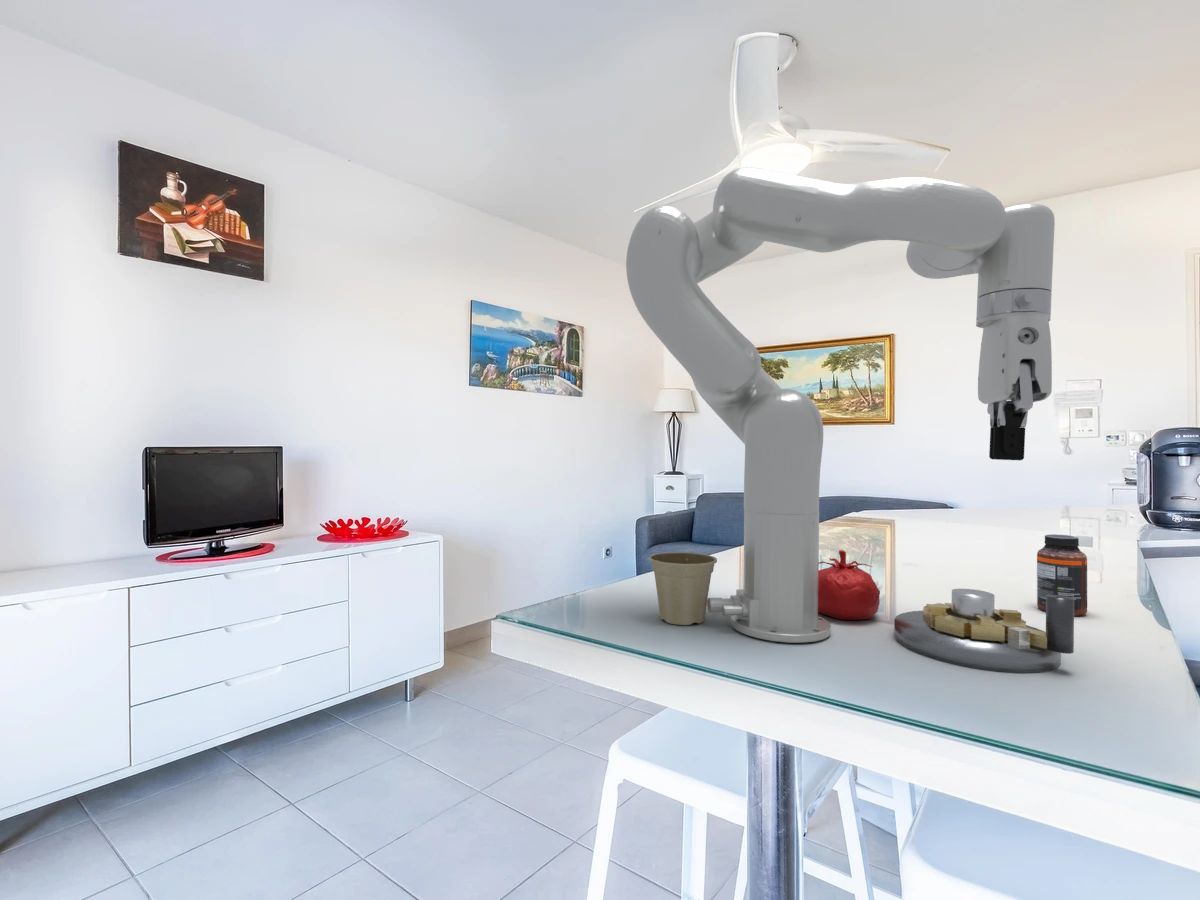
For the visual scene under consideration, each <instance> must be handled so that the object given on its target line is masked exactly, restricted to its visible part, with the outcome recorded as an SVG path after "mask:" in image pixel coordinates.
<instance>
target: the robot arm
mask: <svg viewBox="0 0 1200 900" xmlns="http://www.w3.org/2000/svg"><path fill="white" fill-rule="evenodd" d="M877 241H901V242H909V243H908V245H907V248H906V252H905V253H906V262H907V264H908V266H909V268H910V269H911V271H912V272H914V273H915V274H917V275H918V276H920V277H923V278H926V279H931V280H939V279H943V280H944V279H949V278H955V277H961V276H967V275H974V274H977V278H978V279H977V297H976V298H977V300H976V316H975V317H976V319H975V322H976V323H975V325H976V327H977V328H979V329H982V334H981V335H982V336H981V343H980V351H979V352H980V353H979V361H978V362H979V363H978V376H977V396H978V397H977V399H978V401H980V402H981V403H982V404H984V405H987V411H986V412H987V414H988V415H989V426H990V427H989V428H990V431H989V451H988V452H989V453H988V454H989V455H988V456H989V459H991V460H997V461H999V460H1002V461H1022V460H1024V458H1025V446H1026V445H1025V442H1026V441H1025V440H1026V427H1027V424H1028V415H1029V411H1030V410H1031V409H1032V408H1033V406H1034V403H1036V402H1041V401H1044V400H1047V398H1049V397H1050V396H1051V394H1052V391H1053V390H1052V389H1053V388H1052V387H1053V377H1052V376H1053V372H1052V371H1053V369H1052V367H1053V365H1052V364H1053V363H1052V362H1053V361H1052V340H1051V328H1050V322H1051V314H1052V312H1051V311H1052V290H1053V289H1052V287H1053V268H1054V267H1053V266H1054V246H1055V213H1054V212H1053V210H1052V209H1051V208H1050V207H1049V206H1046V205H1044V204H1038V203H1037V204H1036V203H1025V204H1023V203H1022V204H1017V205H1012V206H1007V207H1004V205H1003V203H1002V202H1001V200H1000V199H999V198H997V196H996V195H994V194H993V193H991V192H989V191H988V190H985V189H982V188H979V187H977V186H973V185H969V184H965V183H960V182H953V181H949V180H944V179H939V178H930V177H920V176H919V177H918V176H917V177H916V176H907V177H906V176H903V177H894V178H887V179H877V180H869V181H867V180H866V181H860V182H855V183H840V182H834V181H828V180H823V179H817V178H811V177H806V176H800V175H797V174H796V175H795V174H792V173H791V174H790V173H786V172H780V171H775V170H769V169H764V168H757V167H747V166H746V167H738V168H736V169H733V170H731V171H730V172H728V173H727V174H726V175H725V176H724V177H723V179H722V180H721V181H720V183H719V185H718V186H717V188H716V191H715V195H714V197H713V204H712V211H711V212H709V213H708V214H707V215H705V216H703V217H702V218H700V219H699V220H697V221H695V222H694V221H693V220H692V218H691V217H690V216H689V215H688V214H687V213H686V212H684V211H683V210H681V209H680V208H677V207H675V206H672V205H665V204H663V205H658V206H655V207H652V208H650V209H648V210H647V211H646V212H645V213H644V214H643V215H642V216H641V217H640V219H639V220H638V221H637V223H636V224H635V226H634V228H633V231H632V233H631V235H630V239H629V243H628V247H627V250H626V251H627V252H626V260H625V263H626V264H625V265H626V268H625V269H626V278H627V284H628V287H629V291H630V292H629V293H630V295H631V298H632V300H633V303H634V306H635V308H636V310H637V311H638V313H639V314H640V316H641V318H642V319H643V320H644V322H645V323H646V325H647V326H648V327H649V329H650V330H651V331H652V332H653V333H654V334H655V336H656V337H657V338H658V340H660V342H661V343H662V344H663V345H664V347H665V348H666V349H667V351H668V352H669V353H670V354H671V355H672V356H673V358H675V359H676V361H677V362H679V364H680V365H681V366H682V367H683V368H684V370H685V371H686V372H687V374H688V375H689V376H690V377H691V379H692V382H693V386H694V387H695V390H696V391H697V393H698V394H699V396H700V397H701V399H703V400H704V402H705V403H706V404H707V405H708V407H710V408H711V410H713V411H714V413H715V414H716V415H717V416H718V417H719V418H720V419H721V421H722V422H724V424H725V425H726V426H727V427H728V428H729V429H730V430H731V431H732V432H733V434H734V435H736V437H737V438H738V439H739V440H740V441H741V442H742V443H743V444H744V470H743V471H744V472H743V473H744V474H743V475H744V477H743V478H744V479H743V576H742V577H743V587H742V589H740V588H739V589H735V591H736V592H735V593H736V595H733V594H732V595H730V596H729V598H728V597H727V598H722V597H708V599H707V606H706V609H707V612H708V613H710V614H711V613H712V614H713V613H722V616H725V617H727V616H729V617H730V624H731V626H732V628H733V629H734V630H735V631H737V632H740V633H741V634H744V635H747V636H748V637H753V638H755V639H760V640H764V641H771V642H778V643H792V644H793V643H795V644H798V643H799V644H803V643H814V642H819V641H820V642H821V641H822V640H825V639H826V638H829V636H830V635H831V633H832V632H831V629H832V628H831V624H830V623H831V622H829V621H828V620H827V619H825V618H823V617H822V616H819V612H818V573H819V570H820V569H819V568H820V567H819V565H820V564H819V562H820V559H819V558H820V557H819V556H820V555H819V553H820V551H819V549H820V548H819V547H820V482H821V481H820V480H821V466H822V464H821V463H822V456H823V445H824V422H823V419H822V416H821V413H820V410H819V408H818V407H817V405H816V403H815V402H814V401H813V400H812V399H811V398H810V397H809V396H807V394H806V395H805V394H804V393H802V392H800V391H797V390H795V389H791V388H790V389H789V388H782V387H780V386H779V385H778V383H777V382H776V381H775V380H774V379H773V378H772V377H771V375H769V373H768V372H767V371H766V370H764V369H763V367H762V359H761V355H760V352H759V350H758V349H757V347H756V345H754V343H752V342H751V341H750V340H749V338H747V337H746V336H745V335H744V334H743V333H742V332H741V331H740V330H738V329H737V328H736V327H735V325H734V324H733V323H731V321H730V320H729V319H728V318H727V317H726V316H725V315H724V313H722V312H721V311H720V309H718V308H717V307H716V306H715V304H714V303H713V302H712V301H711V299H709V298H708V296H707V295H706V294H705V293H704V291H703V290H702V288H701V287H700V285H699V283H702V282H703V281H704V280H707V279H708V278H710V277H711V276H714V275H716V274H718V273H719V272H721V271H723V270H725V269H726V268H728V267H730V266H732V265H734V264H736V262H740V261H741V260H742V259H743V258H745V257H747V256H748V255H750V254H752V253H753V252H755V251H756V250H757V249H758V248H760V246H762V245H763V243H764V242H768V243H769V242H770V243H774V244H778V245H783V246H788V247H793V248H798V249H801V250H805V251H806V250H807V251H812V252H815V253H816V252H817V253H820V254H821V253H825V254H826V253H832V252H836V251H840V250H841V251H842V250H844V249H847V248H850V247H853V246H856V245H860V244H863V243H864V244H865V243H869V242H877Z"/></svg>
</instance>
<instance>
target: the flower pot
mask: <svg viewBox="0 0 1200 900" xmlns="http://www.w3.org/2000/svg"><path fill="white" fill-rule="evenodd" d="M648 560H649V562H651V569H652V571H653V573H654V581H655V587H656V588H655V589H656V595H657V596H656V597H657V602H658V610H659V611H658V613H659V618H660V620H661V621H665V622H666V623H667V624H671V625H676V626H678V625H679V626H691V625H692V624H695V623H696V624H697V625H699V624H702V623H704V621H705V620H706V613H707V612H706V611H707V600H708V598H709V593H710V592H709V591H710V584H711V577H712V573H713V572H714V567H715V564H716V563H717V562H718V559H717V558H716V557H715V556H714V555H713V556H712V555H710V554H704V553H700V552H699V553H696V552H695V553H694V552H685V551H684V552H683V551H681V552H680V551H679V552H678V551H676V552H675V551H673V552H658V553H654V554H651V555H649V557H648Z"/></svg>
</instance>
